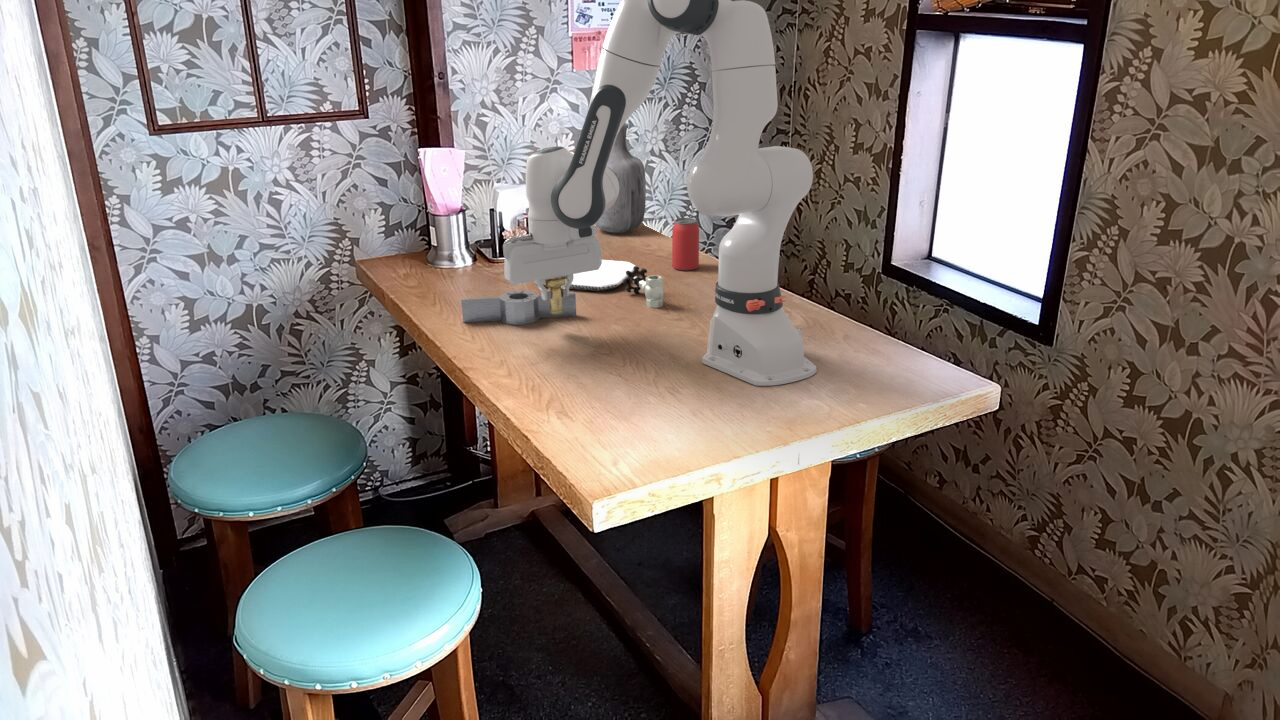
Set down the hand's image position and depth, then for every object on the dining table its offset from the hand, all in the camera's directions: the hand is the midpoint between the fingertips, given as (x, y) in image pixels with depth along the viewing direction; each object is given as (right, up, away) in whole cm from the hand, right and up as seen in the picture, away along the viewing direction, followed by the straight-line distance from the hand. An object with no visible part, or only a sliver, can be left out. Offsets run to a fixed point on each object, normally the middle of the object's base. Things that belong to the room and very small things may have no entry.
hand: (555, 297), depth 193 cm
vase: (+11, +24, +79) cm, 83 cm away
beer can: (+28, +10, +44) cm, 54 cm away
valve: (+19, 0, +21) cm, 28 cm away
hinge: (-9, -4, +10) cm, 14 cm away
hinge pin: (0, -3, +1) cm, 3 cm away
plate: (+5, +7, +37) cm, 38 cm away
